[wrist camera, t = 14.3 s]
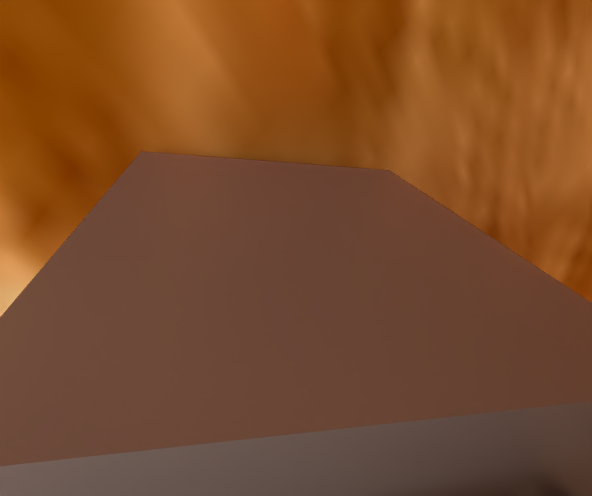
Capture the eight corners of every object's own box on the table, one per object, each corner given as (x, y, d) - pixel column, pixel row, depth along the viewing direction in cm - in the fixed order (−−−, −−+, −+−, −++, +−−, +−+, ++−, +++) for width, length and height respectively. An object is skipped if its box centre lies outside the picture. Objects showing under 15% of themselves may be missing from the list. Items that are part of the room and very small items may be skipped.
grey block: (389, 170, 11) (720, 386, 4) (345, 343, 15) (473, 632, 7) (141, 151, 10) (-140, 483, 2) (158, 352, 13) (76, 744, 6)
